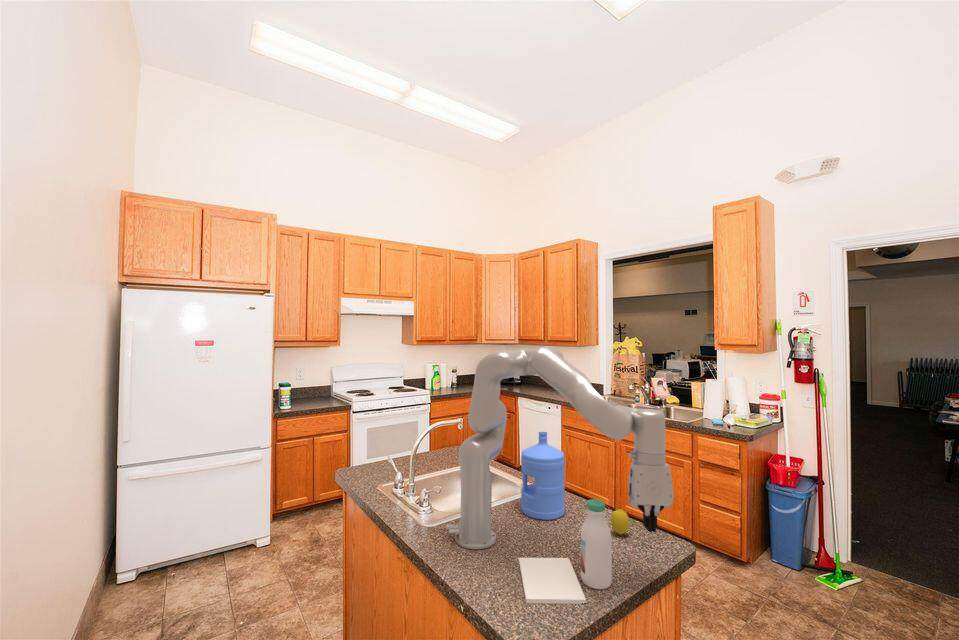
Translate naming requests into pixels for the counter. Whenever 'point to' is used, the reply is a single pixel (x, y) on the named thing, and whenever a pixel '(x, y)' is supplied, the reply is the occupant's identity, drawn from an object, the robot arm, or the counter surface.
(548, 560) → the cutting board
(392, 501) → the counter surface
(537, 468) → the water jug
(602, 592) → the counter surface
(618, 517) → the lemon
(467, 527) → the robot arm
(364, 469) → the counter surface
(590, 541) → the milk bottle
